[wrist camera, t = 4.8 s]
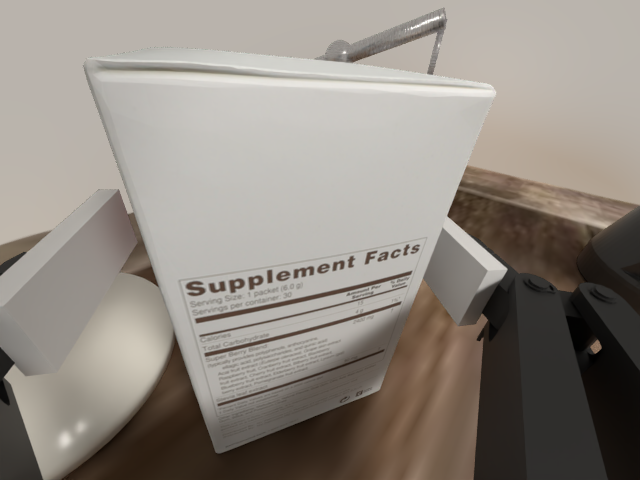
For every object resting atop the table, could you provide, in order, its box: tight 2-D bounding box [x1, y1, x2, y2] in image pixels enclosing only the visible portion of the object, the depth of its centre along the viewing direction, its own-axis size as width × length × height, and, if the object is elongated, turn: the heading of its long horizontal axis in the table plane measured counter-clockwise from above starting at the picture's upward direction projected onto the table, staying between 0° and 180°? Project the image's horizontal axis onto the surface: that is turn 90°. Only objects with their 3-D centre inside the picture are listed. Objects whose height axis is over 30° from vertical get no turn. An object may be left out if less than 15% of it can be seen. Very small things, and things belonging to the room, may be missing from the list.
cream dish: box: [4, 272, 176, 480], centre depth 14 cm, size 13×13×1 cm
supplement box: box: [83, 47, 497, 453], centre depth 13 cm, size 9×9×15 cm
